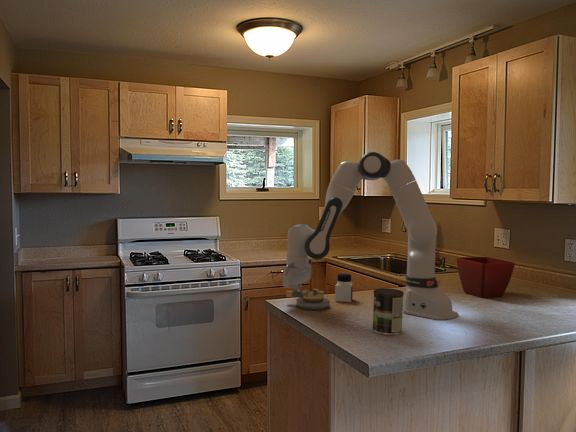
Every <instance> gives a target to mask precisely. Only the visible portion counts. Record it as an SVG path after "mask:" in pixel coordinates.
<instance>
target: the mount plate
mask: <svg viewBox="0 0 576 432" xmlns="http://www.w3.org/2000/svg"><path fill="white" fill-rule="evenodd" d="M295 300H296V302H295V303H296V305H295V306H296V308H297V309H301V310H305V311H323V310H324V311H325V310H328V309H330V305H331V301H330V299H328V298H326V297H324V300H323V301H320V302H308V301H304V300H302V298H298V297H297V298H296V299H295Z"/></svg>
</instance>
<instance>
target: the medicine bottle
mask: <svg viewBox="0 0 576 432" xmlns="http://www.w3.org/2000/svg"><path fill="white" fill-rule="evenodd" d="M336 280H337V281H336V282H337V283H336V284H335V285H334V301H335V302H341V303H352V300H353V293H354V292H353V291H354V290H353V287H354V286H353V285H354V284H353V282H352V274H351V273H348V272H340V273H337V279H336Z"/></svg>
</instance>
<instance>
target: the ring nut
mask: <svg viewBox="0 0 576 432" xmlns="http://www.w3.org/2000/svg"><path fill="white" fill-rule="evenodd" d="M285 297H286V298H297V299H298V298H302V300H304V301H308V302H320V301H323V300H324V298H325V291H324V290H319V288H312V290H311V291H310V290H309V289H305V288H304V289H303V290H302V291H300V292H296V291H294V290H288V289H287V290H286V291H285Z"/></svg>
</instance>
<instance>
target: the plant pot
mask: <svg viewBox="0 0 576 432" xmlns="http://www.w3.org/2000/svg"><path fill="white" fill-rule="evenodd" d="M515 264H516V262H514V261H509V260H506V259H505V260H504V259H499V258H495V257H490V256H469V257H467V256H465V257H464V256H463V257H456V265H457V270H458V276H459V280H460V283H461V286H462V289H463V292H464V293H465V294H469V295H472V296H475V297H478V298H481V299H482V298H483V299H484V298H498V297H499V296H500V297H503V296H504V294H505V292H506V291H507V288H508V286H509V284H510V281H511V278H512V276H513V272H514V269H515Z"/></svg>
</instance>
